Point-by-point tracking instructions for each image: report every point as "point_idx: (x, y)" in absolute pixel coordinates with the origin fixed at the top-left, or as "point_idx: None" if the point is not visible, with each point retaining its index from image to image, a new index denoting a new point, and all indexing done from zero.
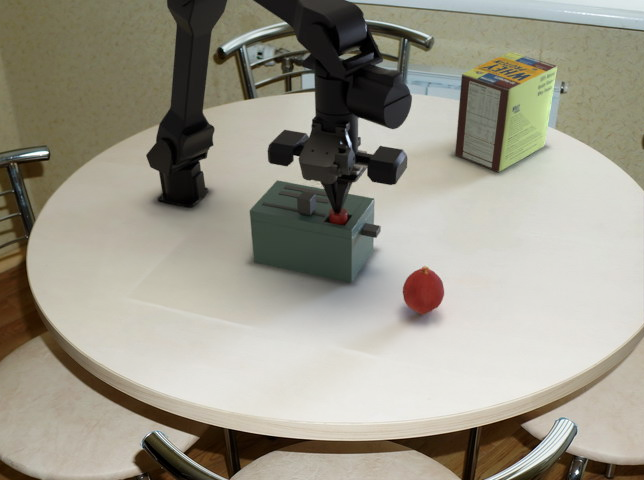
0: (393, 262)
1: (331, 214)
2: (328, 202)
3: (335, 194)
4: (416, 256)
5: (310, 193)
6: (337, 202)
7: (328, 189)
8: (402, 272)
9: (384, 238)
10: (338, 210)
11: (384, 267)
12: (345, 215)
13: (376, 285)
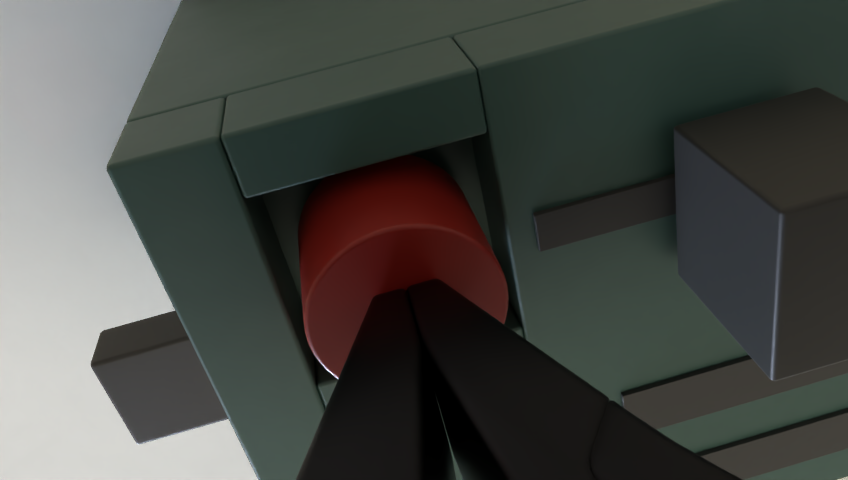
0: (140, 317)
1: (438, 228)
2: (622, 406)
3: (480, 465)
4: (85, 420)
5: (832, 343)
6: (398, 372)
7: (590, 469)
8: (24, 275)
9: None
10: (381, 310)
11: (144, 254)
12: (305, 314)
13: (36, 77)
